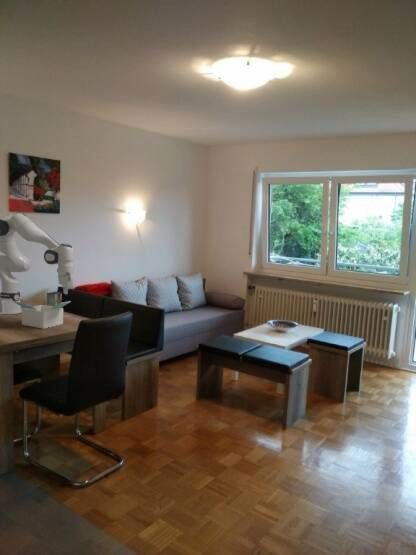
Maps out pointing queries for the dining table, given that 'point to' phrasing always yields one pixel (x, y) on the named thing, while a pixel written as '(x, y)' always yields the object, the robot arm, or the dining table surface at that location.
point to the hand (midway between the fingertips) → (65, 293)
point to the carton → (42, 316)
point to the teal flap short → (61, 305)
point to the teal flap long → (25, 305)
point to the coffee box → (54, 298)
